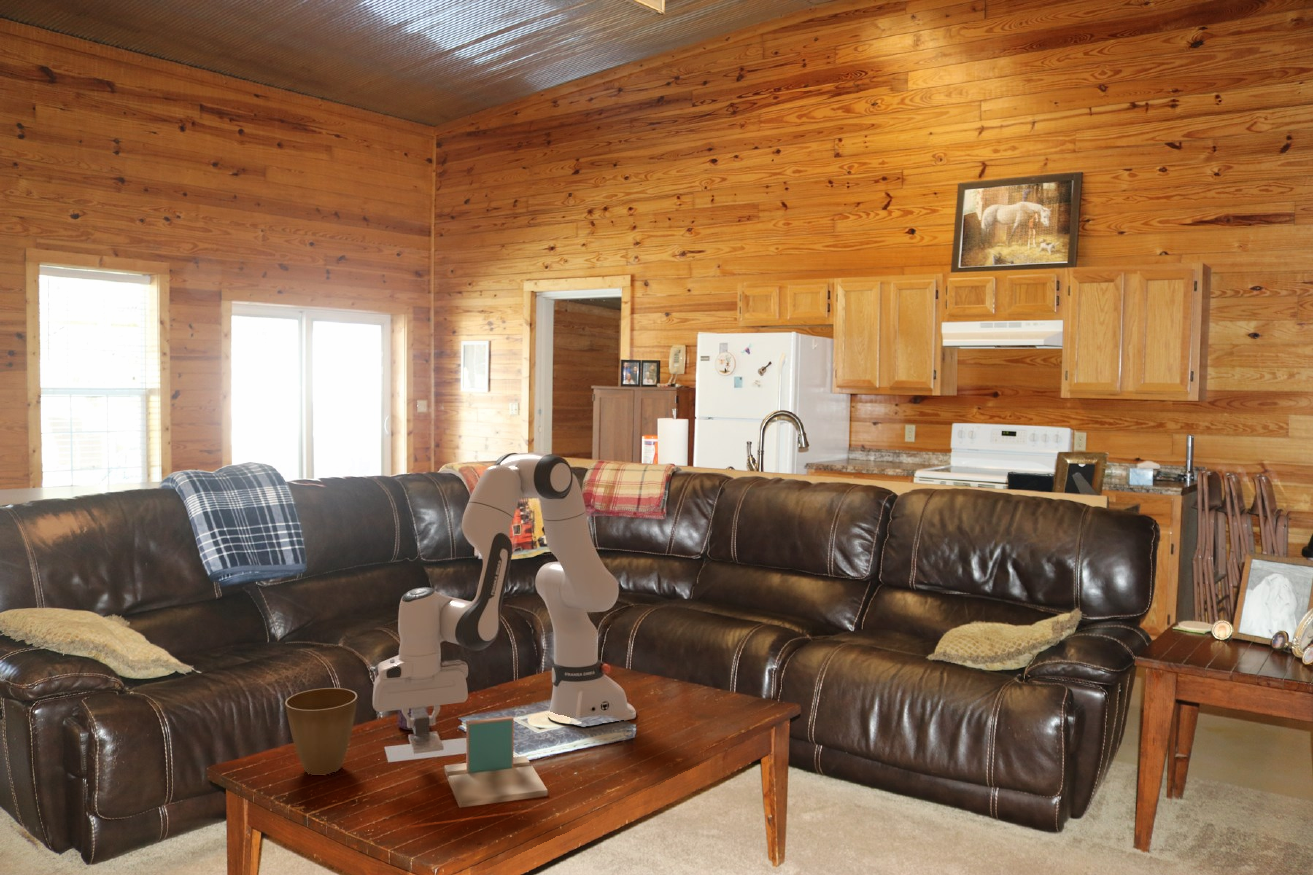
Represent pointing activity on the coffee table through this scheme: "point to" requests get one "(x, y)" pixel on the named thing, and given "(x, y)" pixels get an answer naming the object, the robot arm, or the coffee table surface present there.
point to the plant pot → (321, 727)
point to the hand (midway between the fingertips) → (421, 725)
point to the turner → (423, 733)
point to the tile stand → (495, 783)
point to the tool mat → (407, 752)
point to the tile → (489, 744)
